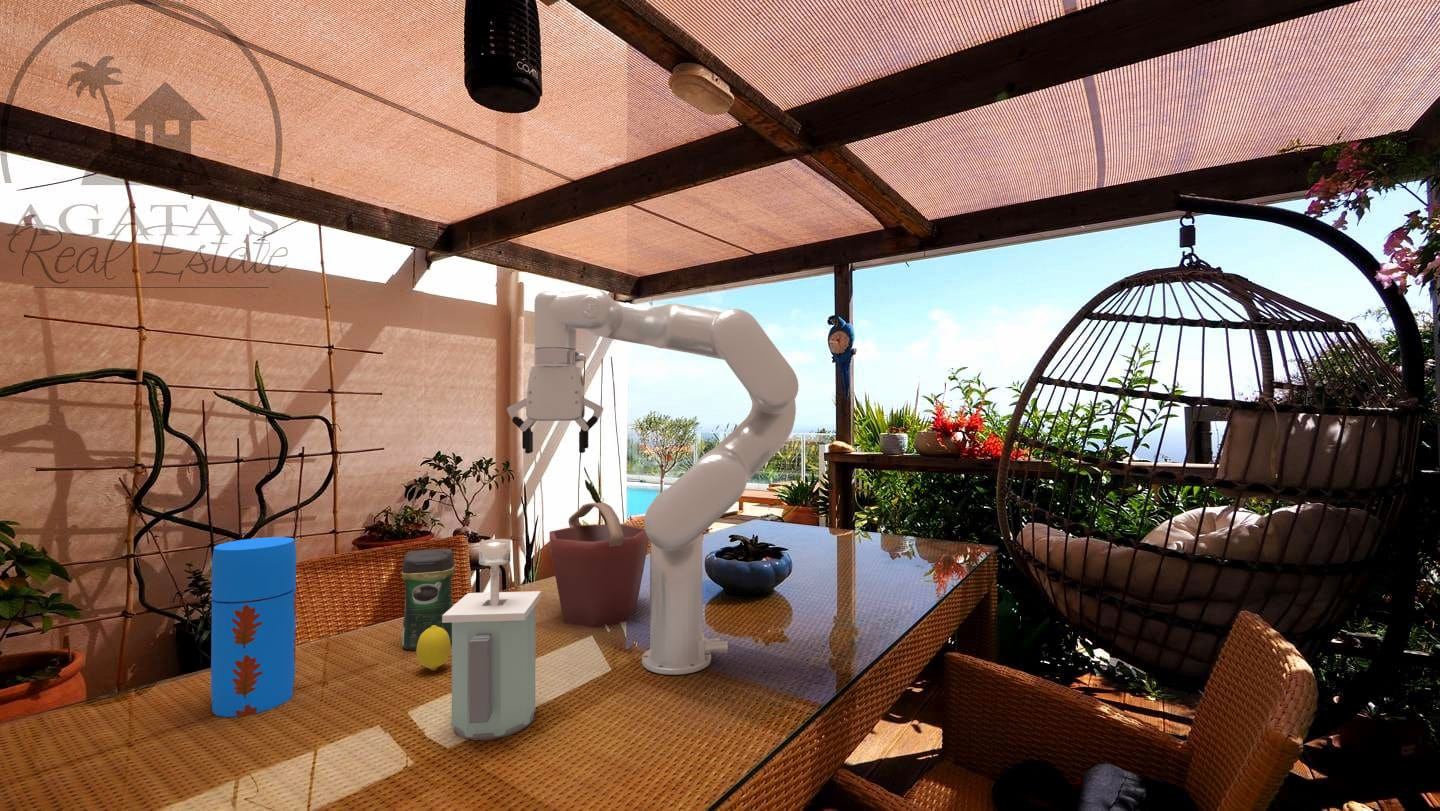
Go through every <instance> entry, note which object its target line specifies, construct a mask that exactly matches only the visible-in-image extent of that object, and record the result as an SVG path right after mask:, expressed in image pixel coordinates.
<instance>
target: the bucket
mask: <svg viewBox="0 0 1440 811" xmlns="http://www.w3.org/2000/svg"><path fill="white" fill-rule="evenodd" d="M593 508H597V509H598V511H599V512H600V513H601V515H602V516H603V518H604V521H605V523H606V524H582V523H581V521H580V520H579V518H583V517H585V516H586V515H587V514H589V513H590V512H591V511H592V509H593ZM568 526H569V527H567V528H566V527H565V528H561V529H556V530H550V531H549V549H550V555H551V560H552V565H553V569H554V570H553V572H554V576H555V582H556V587H557V593H558V598H559V603H560V609H561V610H560V611H561V613H562V614H561V615H562V618H563V624H567V625H574V626H581V627H583V626H584V627H588V628H589V627H591V628H596V627H602V626H607V625H608V626H609V625H614V624H619V623H623V622H627V621H628V620H629V619H630V618H631V617H632V616H633V614H634V613H636V611H637V608H638V607H637V606H638V601H639V595H640V590H641V585H642V580H643V579H642V578H643V575H644V569H645V565H646V560H647V558H646V557H647V553H648V547H649V541H650V540H649V539H648V537H647V535H646V532H645V528H644V527H643V528H642V527H637V526H633V525H629V524H628V525H627V524H624V523H623V524H622V523H621V522H620V519H619V517H618V515H617V513H616V511H615V510H614V509H613V507H612V506H611V505H609V504H608V503H605V502H590V503H585V504H583V505H582V506H580V508H578V510H577V511H575V512H574V513H573V514H572V515H571V516H570V517H569V518H568Z"/></svg>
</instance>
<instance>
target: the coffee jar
mask: <svg viewBox="0 0 1440 811" xmlns="http://www.w3.org/2000/svg"><path fill="white" fill-rule="evenodd" d="M455 565H456V564H455V559H454V553H453V550H452V549H451V548H435V549H433V548H431V549H422V550H421V549H420V550H412V551H408V552H407V553H406V554H405V555H404V557H403V561H402V568H401V569H402V570H401V578H402V581H403V583H404V589H405V590H404V591H405V596H404V598H405V599H404V600H405V601H404V613H403V623H402V634H401V645H402V647H403V648H404V649H406V650H416V649H417V643H418V640H419V637H420V635H421V634H422V633H423V632H424V631H425V630H426V629H428V628H430V627H431V626H432V625H436V626H437V627H441V628H443V629H444V630H445V631H446V632H447V633H448V635H449V638H450V643H452V622H450V623H442V615H443V614H445V613H446V612H447V611H448V610H449V609H450V608H451V607H453V606H454V605H453V597H452V596H453V595H452V579H453V576H454V574H455V570H456V566H455Z"/></svg>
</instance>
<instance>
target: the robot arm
mask: <svg viewBox="0 0 1440 811" xmlns="http://www.w3.org/2000/svg"><path fill="white" fill-rule="evenodd" d="M533 317H534V321H533V322H534V323H533V324H534V330H533V331H534V332H533V333H534V350H533V351H534V363H533V364H534V366H530V370H529V375H528V381H527V382H528V383H527V391H526V397H525V398H524V399H521V400H520V401H517V402H516V403H514V404H511V405H510V406H508V407H507V408H506V412H507V413H508V415H509V417H510V418H511V421H512V423H513V424H514V425H515V426H516V427H517V428H519V429H520V431H521V435H522V436H521V440H522V442H521V443H522V444H521V447H522V450H524V453H525V454H532V453H533V452H534V431H532V427H533V426H534V425H535V424H536V423H537V422H539V421H540V422H542V421H543V422H556V421H557V422H558V421H559V422H563V421H565V422H569V421H570V422H571V421H574V422H575V423H576V424H577V425H578V426H579V427H580V431H579V432H578V453H579V454H584V453H586V449H589V431H590V430H591V429H592V428H593V427H594V426H595V424H596V423H598V422H599V419H600V418H601V416H602V413H603V412H604V407H603V406H602V405H599V404H598V403H595V402H593V401H592V400H590V399H588V398H586V397H585V387H584V379H583V378H584V377H583V372H582V369H581V367H579V366H577V365H578V363H579V362H584V361H585V353H581V352H578V350H577V329H581V330H585V331H588V332H590V333H591V334H593V335H595V336H597V337H601V338H604V339H611V340H616V341H621V342H627V343H631V344H638V345H644V346H650V347H653V348H657V349H665V350H670V351H674V352H675V351H676V352H681V353H682V352H683V353H688V354H693V355H698V356H703V357H708V358H714V359H717V360H718V359H719V360H723V361H725V363H726V364H727V365H728V367H729V368H730V369H731V371H732V372H733V373H734V375H735V376H736V377H737V379H738V380H739V381H740V383H741V384H742V386H743V387H744V389H745V390H746V391H747V393H748V394H749V398H750V401H751V409H750V412H749V414H748V415H747V416H746V418H745V419H744V420H743V421H742V422H741V423H740V424H739V425H737V426H736V428H734V429H733V430H732V431H731V432H730V433H729V434H728V435H727V436H726V437H725V438H724V439H723V440H721V442H719V443H718V444H717V445H716V446H714V447H713V449H711V450H709V451H707V452H706V453H704V454H703V455H701V457H699V459H698V460H697V461H696V462H695V463H694V464H692V466H690V467H689V469H688V470H686V471H685V473H683V474H682V475H681V476H680V477H679V478H678V479H677V480H676V481H675V482H674V483H673V484H671V485H670V486H668V488H667V489H664V490H663V491H662V492H660V493H659V494H658V495H657V496H656V497H655V498H654V499H653V500H652V502H651V503H650V504H649V506H648V507H647V509H646V512H645V515H644V519H643V529H645V532H646V535H647V537H648V539H649V541H650V552H649V553H650V556H649V557H650V559H649V563H650V566H649V568H650V571H649V572H650V573H649V574H650V575H649V600H650V601H649V611H650V612H649V615H650V616H649V617H650V618H649V624H650V626H649V627H650V628H649V632H650V634H649V635H650V637H649V639H650V640H649V642H650V643H649V649H647V650H646V651H645V652H643V654H642V656H641V664H642V666H643V667H644V668H645V669H646V670H648V671H650V672H652V673H656V674H660V675H670V676H671V675H672V676H677V675H678V676H679V675H687V674H692V673H696V672H700V671H702V670H703V669H706V667H708V666H709V665H710V664H711V662H712V654H711V653H718V654H720V653H721V654H722V653H724V654H725V653H728V652H729V647H728V646H729V644H728V642H729V641H727V640H726V641H721V638H718V637H717V638H716V637H714V638H708V637H705V633H704V630H703V534H704V532H706V531H707V530H708V529H709V528H710V527H711V526H712V525H713V524H715V523H716V522H717V521H718V520H719V519H720V518H721V517H723V516H724V514H726V513H727V511H728V510H730V509H731V508H732V507H733V506H735V504H736V503H737V502H738V501H739V500H740V498H741V497H742V496H743V494H744V492H745V489H746V487H747V483H748V481H750V479H751V478H752V477H753V476H755V475H756V474H757V472H759V471H760V470H761V469H762V468H763V467H765V465H766V464H767V463H768V462H769V461H770V460H771V459H772V458H773V457H774V456H775V455H776V454H777V453H778V452H779V451H780V450H781V449H782V447H783V446H784V445H785V444H786V442H787V441H788V439H789V437H790V435H791V433H792V431H793V428H794V424H795V420H796V413H797V411H796V410H797V407H796V406H797V405H796V398H797V396H798V394H799V386H800V385H799V380H798V377H797V374H796V373H795V371H794V369H793V368H792V366H791V365H790V364H789V362H788V360H786V357H784V356H783V354H782V353H781V352H780V350H779V349H778V348H777V346H776V345H775V344H774V342H773V341H772V340H771V339H770V337H769V336H768V335H767V333H766V331H765V330H764V329H763V328H762V326H761V324H760V323H759V322H758V321H757V320H756V318H755V317H754V316H753V315H752V314H751V313H749V312H748V311H746V310H743V309H739V308H730V309H726V310H724V311H717V310H711V309H706V308H702V307H701V308H700V307H695V306H690V305H685V304H682V303H681V304H680V303H668V304H667V303H666V304H663V305H661V306H660V305H659V306H646V305H645V306H643V305H638V304H633V303H627V302H622V301H617V300H614V299H613V298H612V296H610V295H609V294H608V293H607V292H605V291H604V290H601V289H598V288H586V289H581V290H580V289H579V290H574V291H567V292H565V291H557V290H556V291H543V292H539V293H538V294H536V296H535V298H534V316H533ZM523 408H525V409H526V410H525V412H526V417H527V418H526V419H525V420H523V419H522V418H521V417H520V415H519V413H518V411H520V410H522V409H523ZM586 408H588V409H591V410H593V414H592V416H591V417H590V418H589V419H588V420H587V421H586V419H585V418H584V417H585V414H586Z"/></svg>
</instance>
